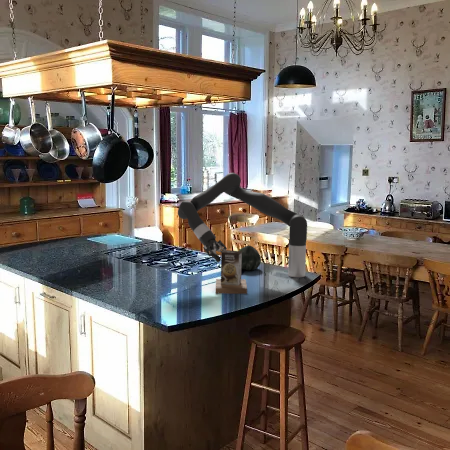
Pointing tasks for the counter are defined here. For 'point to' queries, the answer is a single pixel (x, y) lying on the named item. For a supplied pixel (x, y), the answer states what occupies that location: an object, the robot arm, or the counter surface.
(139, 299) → the counter surface
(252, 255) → the squash
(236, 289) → the wooden board
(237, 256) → the coffee box
